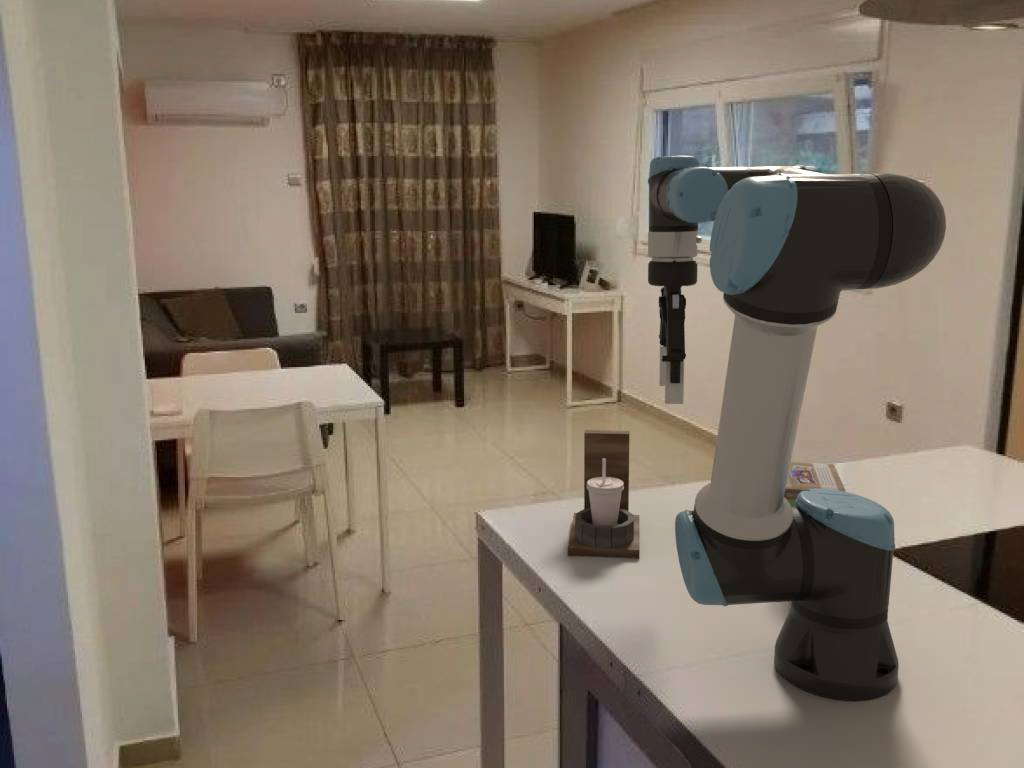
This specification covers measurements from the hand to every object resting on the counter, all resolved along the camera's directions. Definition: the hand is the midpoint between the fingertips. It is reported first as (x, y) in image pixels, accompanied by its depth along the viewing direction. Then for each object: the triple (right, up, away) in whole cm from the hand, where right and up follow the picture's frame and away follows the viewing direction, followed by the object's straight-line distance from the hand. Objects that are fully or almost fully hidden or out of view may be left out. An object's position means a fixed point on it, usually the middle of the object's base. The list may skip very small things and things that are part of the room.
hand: (670, 394), depth 147 cm
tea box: (+23, -28, +7) cm, 37 cm away
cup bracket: (-9, -26, +16) cm, 32 cm away
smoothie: (-9, -25, +14) cm, 30 cm away
